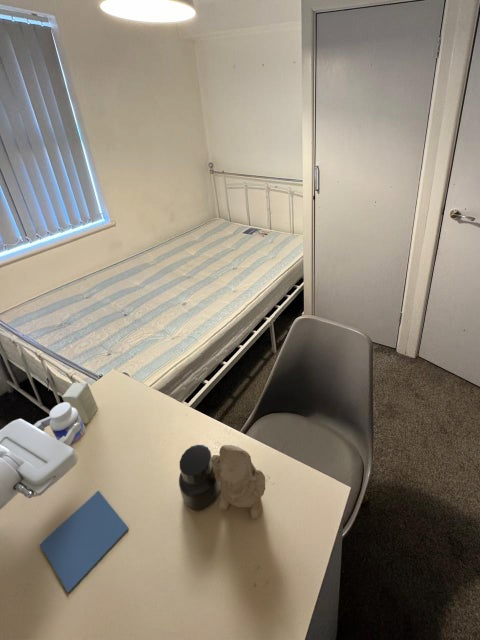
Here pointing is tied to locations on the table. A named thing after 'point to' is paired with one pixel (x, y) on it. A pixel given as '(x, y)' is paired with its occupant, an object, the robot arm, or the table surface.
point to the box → (81, 400)
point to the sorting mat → (83, 540)
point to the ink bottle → (198, 478)
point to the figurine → (238, 480)
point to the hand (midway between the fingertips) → (69, 418)
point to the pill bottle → (65, 422)
